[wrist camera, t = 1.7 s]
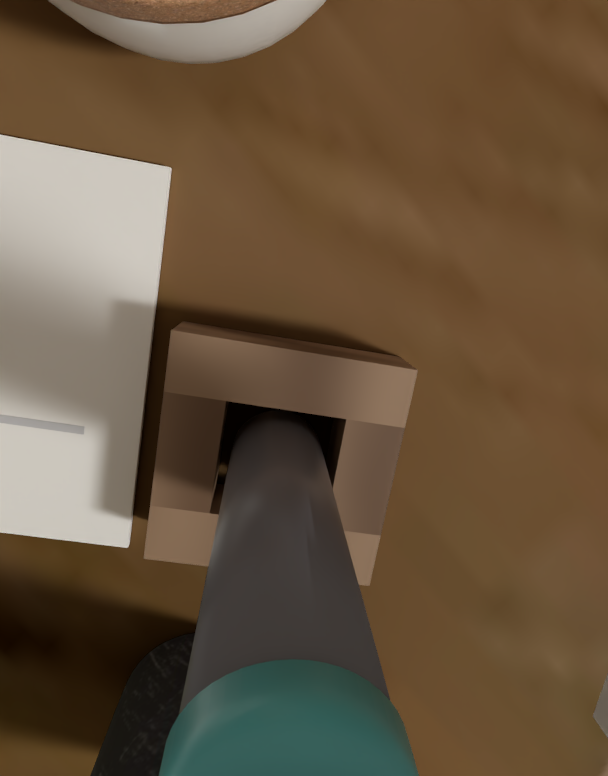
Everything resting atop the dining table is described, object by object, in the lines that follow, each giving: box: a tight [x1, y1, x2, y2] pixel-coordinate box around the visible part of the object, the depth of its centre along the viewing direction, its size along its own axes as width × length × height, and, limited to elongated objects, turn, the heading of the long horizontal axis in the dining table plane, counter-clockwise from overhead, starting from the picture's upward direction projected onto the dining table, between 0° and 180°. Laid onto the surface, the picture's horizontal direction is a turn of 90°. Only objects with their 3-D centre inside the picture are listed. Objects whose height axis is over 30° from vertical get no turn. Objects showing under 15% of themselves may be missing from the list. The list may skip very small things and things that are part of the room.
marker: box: [159, 410, 419, 776], centre depth 13 cm, size 3×3×15 cm
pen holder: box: [144, 321, 418, 586], centre depth 19 cm, size 8×8×2 cm
